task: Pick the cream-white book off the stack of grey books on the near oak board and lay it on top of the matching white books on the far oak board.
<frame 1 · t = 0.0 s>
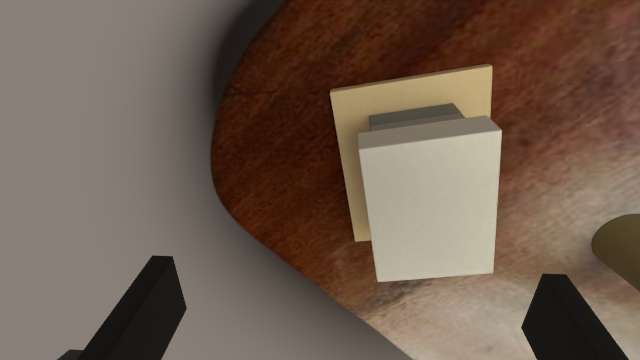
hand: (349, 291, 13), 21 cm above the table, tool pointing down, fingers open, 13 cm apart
pepper shaker: (623, 237, 36), on the table
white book: (423, 194, 28), point 6 cm above the table, touching grey stack
grey stack: (412, 161, 33), on the table
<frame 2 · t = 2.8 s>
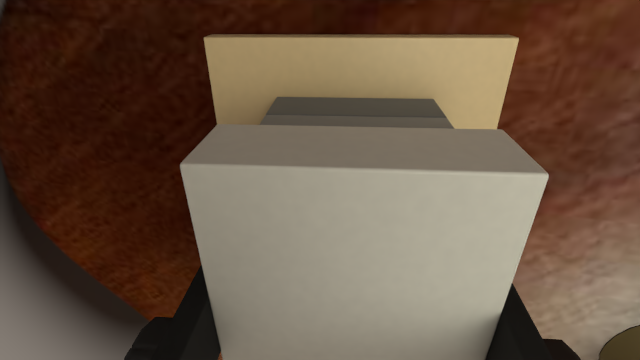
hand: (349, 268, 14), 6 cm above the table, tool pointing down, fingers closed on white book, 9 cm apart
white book: (349, 268, 14), point 6 cm above the table, touching grey stack, gripper
grey stack: (350, 191, 19), on the table
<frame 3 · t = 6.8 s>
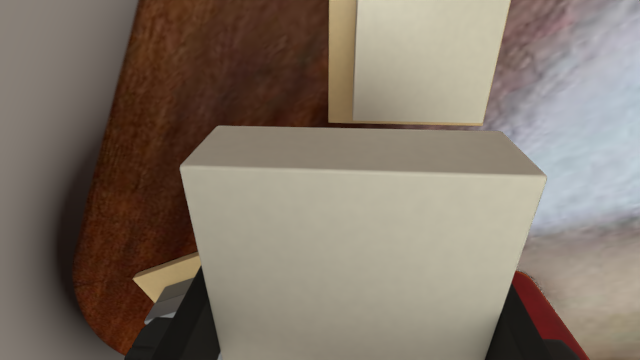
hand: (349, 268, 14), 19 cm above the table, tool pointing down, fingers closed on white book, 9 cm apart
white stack: (413, 21, 27), on the table
paper cup: (506, 288, 40), on the table
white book: (349, 269, 14), point 20 cm above the table, touching gripper
grey stack: (217, 303, 44), on the table
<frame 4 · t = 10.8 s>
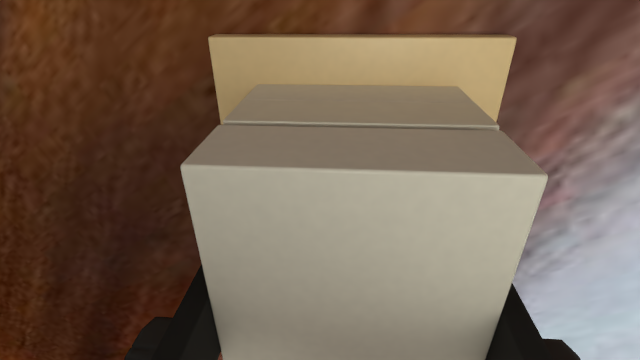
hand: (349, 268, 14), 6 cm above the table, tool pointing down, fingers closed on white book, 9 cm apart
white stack: (351, 189, 20), on the table
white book: (349, 269, 14), point 6 cm above the table, touching gripper
when the fingers open (7 cm above the table, at t = 18.4 s): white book drops 1 cm, resting on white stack.
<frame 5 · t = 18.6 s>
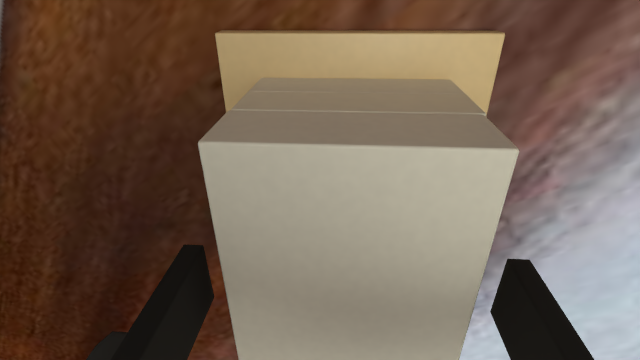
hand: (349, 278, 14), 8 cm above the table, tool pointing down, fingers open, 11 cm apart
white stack: (350, 178, 21), on the table
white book: (347, 245, 15), point 6 cm above the table, touching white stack
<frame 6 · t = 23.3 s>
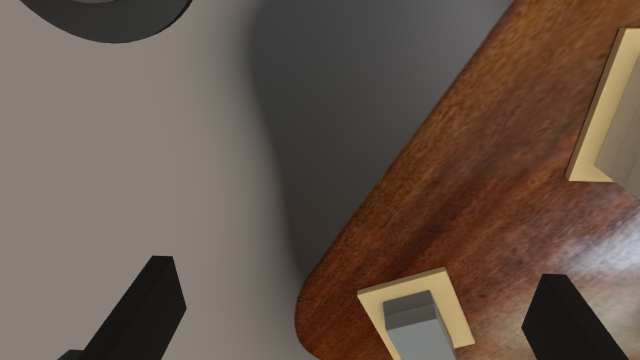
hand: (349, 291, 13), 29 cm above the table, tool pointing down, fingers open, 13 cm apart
grey stack: (416, 314, 54), on the table
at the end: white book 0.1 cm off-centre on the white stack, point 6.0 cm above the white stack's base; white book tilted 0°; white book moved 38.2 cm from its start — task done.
